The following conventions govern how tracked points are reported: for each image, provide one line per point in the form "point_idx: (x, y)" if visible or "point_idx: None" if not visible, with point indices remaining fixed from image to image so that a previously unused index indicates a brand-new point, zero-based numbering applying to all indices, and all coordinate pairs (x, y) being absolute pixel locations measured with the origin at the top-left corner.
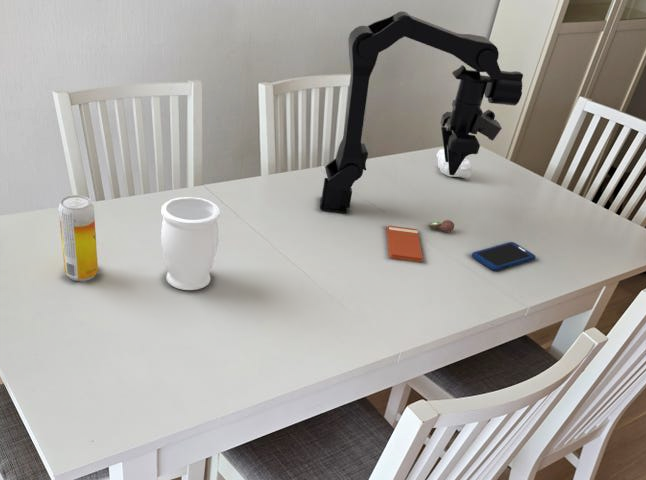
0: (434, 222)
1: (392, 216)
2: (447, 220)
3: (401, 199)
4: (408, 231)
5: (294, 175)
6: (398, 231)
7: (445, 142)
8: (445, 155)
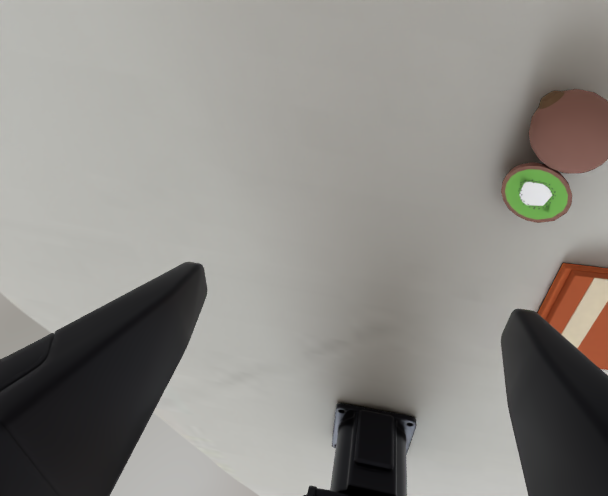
0: (514, 190)
1: (415, 311)
2: (570, 147)
3: (257, 254)
4: (596, 312)
5: (216, 452)
6: (588, 342)
7: (102, 488)
8: (184, 347)
